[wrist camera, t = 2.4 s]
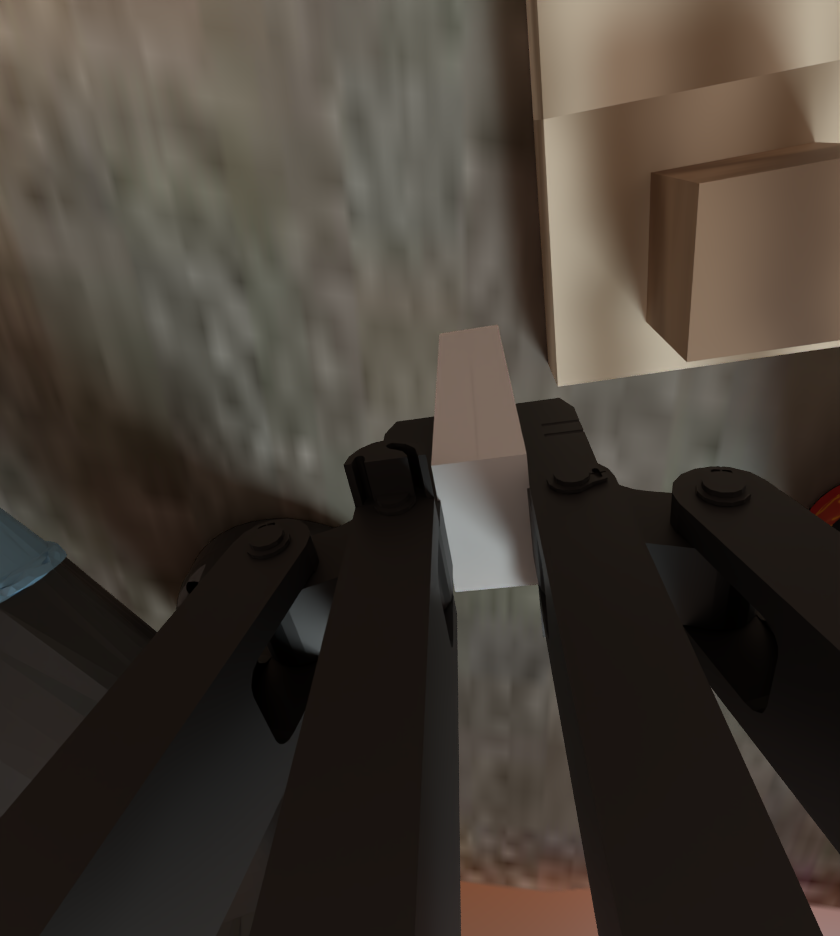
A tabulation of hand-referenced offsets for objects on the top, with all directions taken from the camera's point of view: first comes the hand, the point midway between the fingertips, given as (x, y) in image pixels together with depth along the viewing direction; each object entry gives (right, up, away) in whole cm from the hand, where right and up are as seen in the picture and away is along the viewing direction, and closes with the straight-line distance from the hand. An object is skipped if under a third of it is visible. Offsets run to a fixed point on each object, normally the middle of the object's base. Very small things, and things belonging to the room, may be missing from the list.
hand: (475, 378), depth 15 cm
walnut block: (+11, +7, +8) cm, 15 cm away
